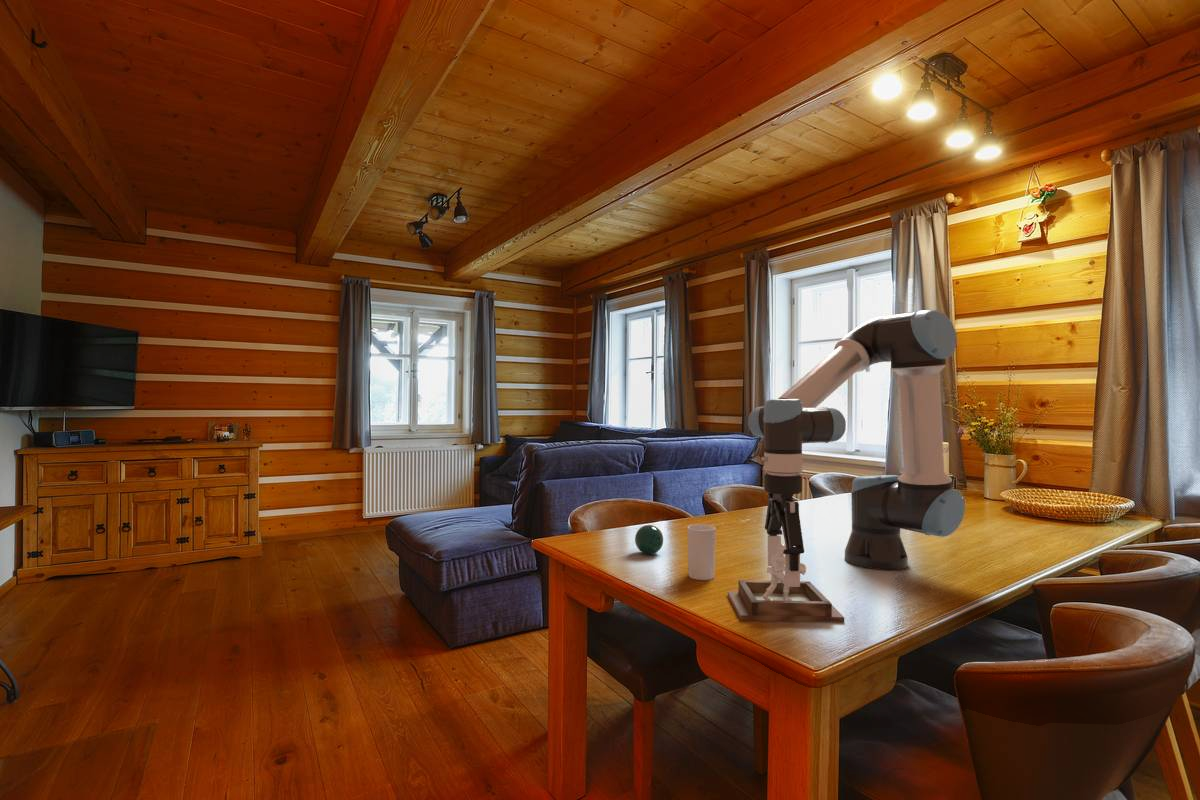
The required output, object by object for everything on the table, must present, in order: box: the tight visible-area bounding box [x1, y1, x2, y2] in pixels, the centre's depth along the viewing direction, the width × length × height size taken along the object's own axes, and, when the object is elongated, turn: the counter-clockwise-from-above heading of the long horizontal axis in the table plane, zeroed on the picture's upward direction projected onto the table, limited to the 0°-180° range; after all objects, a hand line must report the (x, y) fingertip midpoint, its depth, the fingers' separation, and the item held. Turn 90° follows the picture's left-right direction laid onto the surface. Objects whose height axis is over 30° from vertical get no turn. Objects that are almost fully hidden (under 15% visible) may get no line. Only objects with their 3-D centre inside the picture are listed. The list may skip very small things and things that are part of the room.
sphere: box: [634, 524, 664, 555], centre depth 159 cm, size 8×8×8 cm
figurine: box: [762, 543, 807, 601], centre depth 118 cm, size 5×9×12 cm, turn 112°
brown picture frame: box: [727, 579, 845, 623], centre depth 118 cm, size 20×14×4 cm
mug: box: [687, 523, 716, 581], centre depth 140 cm, size 10×7×12 cm, turn 176°
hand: (782, 575), depth 118 cm, fingers open, 13 cm apart
